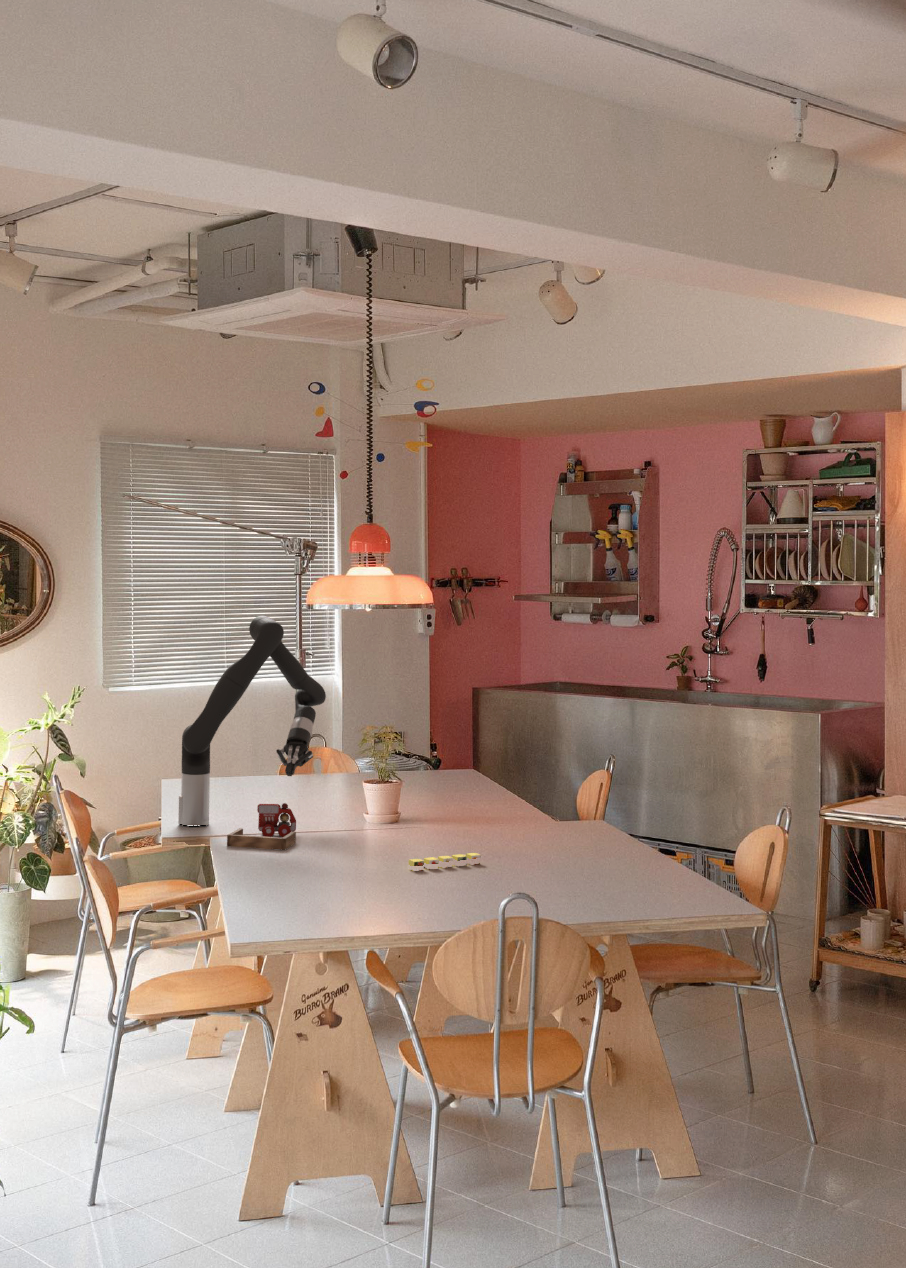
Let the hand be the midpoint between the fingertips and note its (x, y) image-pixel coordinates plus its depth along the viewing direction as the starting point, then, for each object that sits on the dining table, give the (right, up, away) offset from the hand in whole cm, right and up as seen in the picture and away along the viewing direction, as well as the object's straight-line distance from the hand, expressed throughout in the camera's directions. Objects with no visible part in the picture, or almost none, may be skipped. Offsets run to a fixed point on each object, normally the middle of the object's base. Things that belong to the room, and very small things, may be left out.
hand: (289, 774), depth 423 cm
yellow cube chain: (+53, -22, -51) cm, 77 cm away
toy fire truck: (-3, -19, -11) cm, 22 cm away
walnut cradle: (-5, -19, -26) cm, 32 cm away
